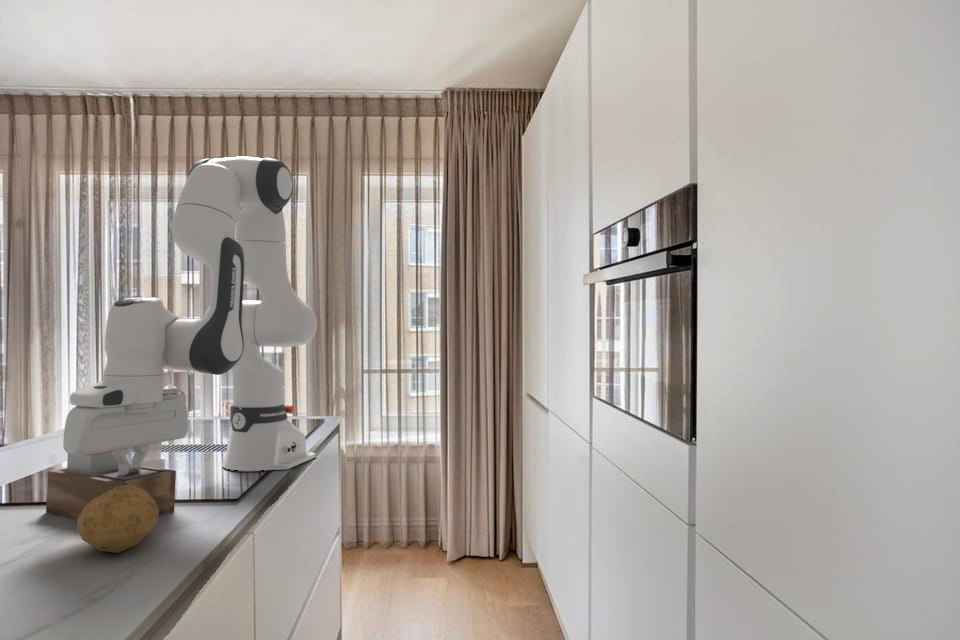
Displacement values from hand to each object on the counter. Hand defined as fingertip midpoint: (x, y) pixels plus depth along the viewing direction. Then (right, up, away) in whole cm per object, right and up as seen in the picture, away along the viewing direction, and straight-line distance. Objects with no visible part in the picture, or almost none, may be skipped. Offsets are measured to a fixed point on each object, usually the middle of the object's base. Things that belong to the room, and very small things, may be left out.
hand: (129, 473), depth 97 cm
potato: (+7, -7, -15) cm, 18 cm away
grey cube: (0, -6, 0) cm, 6 cm away
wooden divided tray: (-4, -7, +1) cm, 8 cm away
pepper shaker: (-6, -8, +16) cm, 19 cm away
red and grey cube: (-8, -2, +3) cm, 9 cm away
